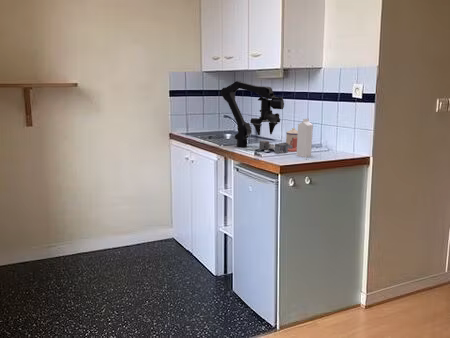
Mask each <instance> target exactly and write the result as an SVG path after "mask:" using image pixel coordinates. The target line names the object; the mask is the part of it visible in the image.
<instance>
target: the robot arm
mask: <svg viewBox="0 0 450 338" xmlns="http://www.w3.org/2000/svg"><path fill="white" fill-rule="evenodd" d="M239 89H241V90H245V91H248V92H251V93H255V94H256V95H258V96H260V97H259V98H258V99H257V101H260V102H261V103H260V109H259V113H260V116H259V118H257V117H251V119H250V120H249V121H250V122H246V121H245V120H244V117H243V115H242V112H241V110H240V107H239V106H238V104H237V101H236V94H235V93H236V92H237V91H238V90H239ZM220 95H221V96H222V98H223V100H224V101H225V102H227V104H228V107H229V109H230V111H231V113H232V115H233V118H234V120H235V122H236V127H237V133H236V134H235V135H234V138H235V140H236V147H237V148H247V147H248V139H249V136H250V135H251V134H252V127H251V125H253V127H254V129H255V131H256V133H257V135H258V136H261V127H262V125H263V124H262V123H268V128H269V130H268V131H269V135H273V132H274V131H275V127H276V126H277V125H278V124H279V123H281V118H280V113H273V110H284V107H285V101H284V97H276V95H275V94H274V91H273V89H272V87H271V86H264V85H263V86H262V85H255V84H252V83H247V82H243V81H241V80H237V81H234V82H233V83H232V84H230V85H228V86H225V87H223V88H221V90H220ZM271 108H272V109H273V110H272V109H271ZM250 124H251V125H250Z"/></svg>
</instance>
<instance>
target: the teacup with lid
mask: <svg viewBox="0 0 450 338" xmlns="http://www.w3.org/2000/svg"><path fill="white" fill-rule="evenodd" d="M285 133H286V135H285V137H286V139H285V143H287V144H288V146H292V141H293V138H297V136H298V129H296V128H295V127H293V128H291V129H290V130H287V131H286V132H285Z"/></svg>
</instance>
